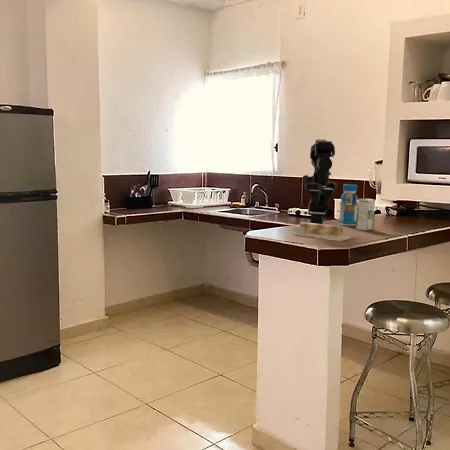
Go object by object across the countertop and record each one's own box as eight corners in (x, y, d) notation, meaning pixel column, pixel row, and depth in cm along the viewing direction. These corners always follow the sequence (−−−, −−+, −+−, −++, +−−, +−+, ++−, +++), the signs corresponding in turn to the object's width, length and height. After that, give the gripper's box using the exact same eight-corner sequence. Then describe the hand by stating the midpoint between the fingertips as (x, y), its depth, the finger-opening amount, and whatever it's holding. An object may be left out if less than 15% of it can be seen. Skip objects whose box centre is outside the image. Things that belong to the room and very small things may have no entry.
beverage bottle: (335, 224, 275) (337, 184, 272) (346, 223, 280) (349, 184, 277) (348, 226, 268) (350, 185, 265) (359, 225, 273) (362, 185, 270)
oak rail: (298, 232, 236) (299, 222, 235) (302, 231, 239) (303, 222, 239) (338, 237, 227) (339, 227, 226) (342, 235, 230) (342, 226, 229)
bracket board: (304, 232, 243) (304, 224, 243) (350, 238, 230) (350, 230, 229) (292, 234, 236) (292, 226, 235) (339, 241, 222) (339, 232, 222)
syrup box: (361, 228, 263) (364, 198, 261) (372, 230, 259) (375, 199, 257) (355, 229, 259) (357, 198, 257) (366, 231, 255) (368, 199, 253)
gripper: (317, 169, 252) (315, 203, 254) (295, 169, 237) (293, 205, 240) (339, 170, 245) (336, 205, 247) (318, 170, 231) (316, 207, 233)
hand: (320, 205), depth 242 cm, fingers open, 9 cm apart
